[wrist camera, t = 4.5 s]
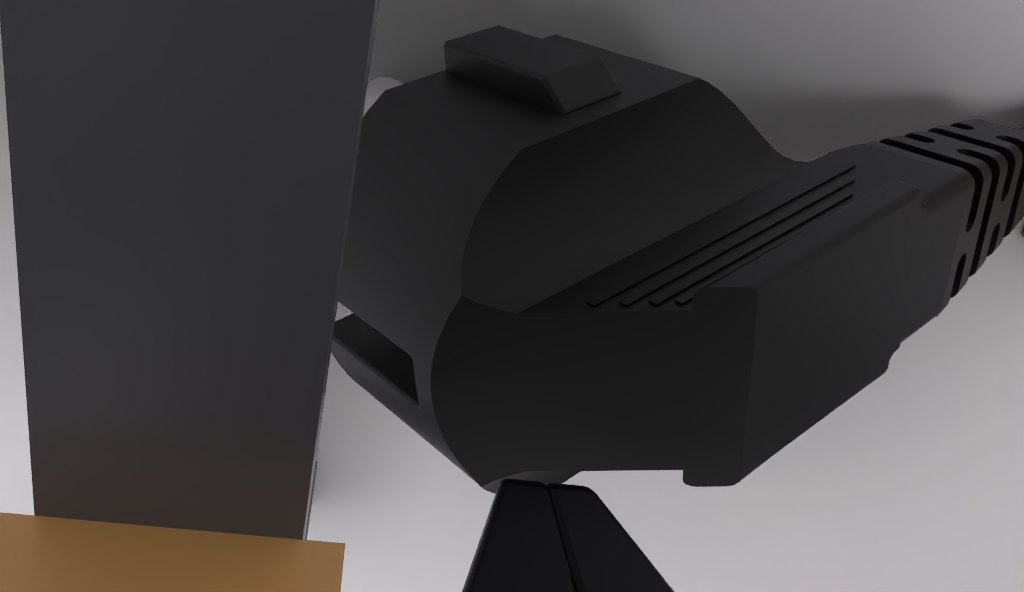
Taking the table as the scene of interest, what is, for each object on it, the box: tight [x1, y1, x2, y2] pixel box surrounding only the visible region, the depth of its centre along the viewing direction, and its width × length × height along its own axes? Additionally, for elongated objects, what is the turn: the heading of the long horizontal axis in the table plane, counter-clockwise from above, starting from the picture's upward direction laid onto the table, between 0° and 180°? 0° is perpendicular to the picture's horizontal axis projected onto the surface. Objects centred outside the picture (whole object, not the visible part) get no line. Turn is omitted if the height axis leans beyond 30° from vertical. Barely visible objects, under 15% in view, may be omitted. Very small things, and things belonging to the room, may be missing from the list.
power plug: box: [331, 26, 1024, 494], centre depth 14 cm, size 6×8×12 cm
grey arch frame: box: [0, 0, 379, 592], centre depth 10 cm, size 2×16×10 cm, turn 168°
